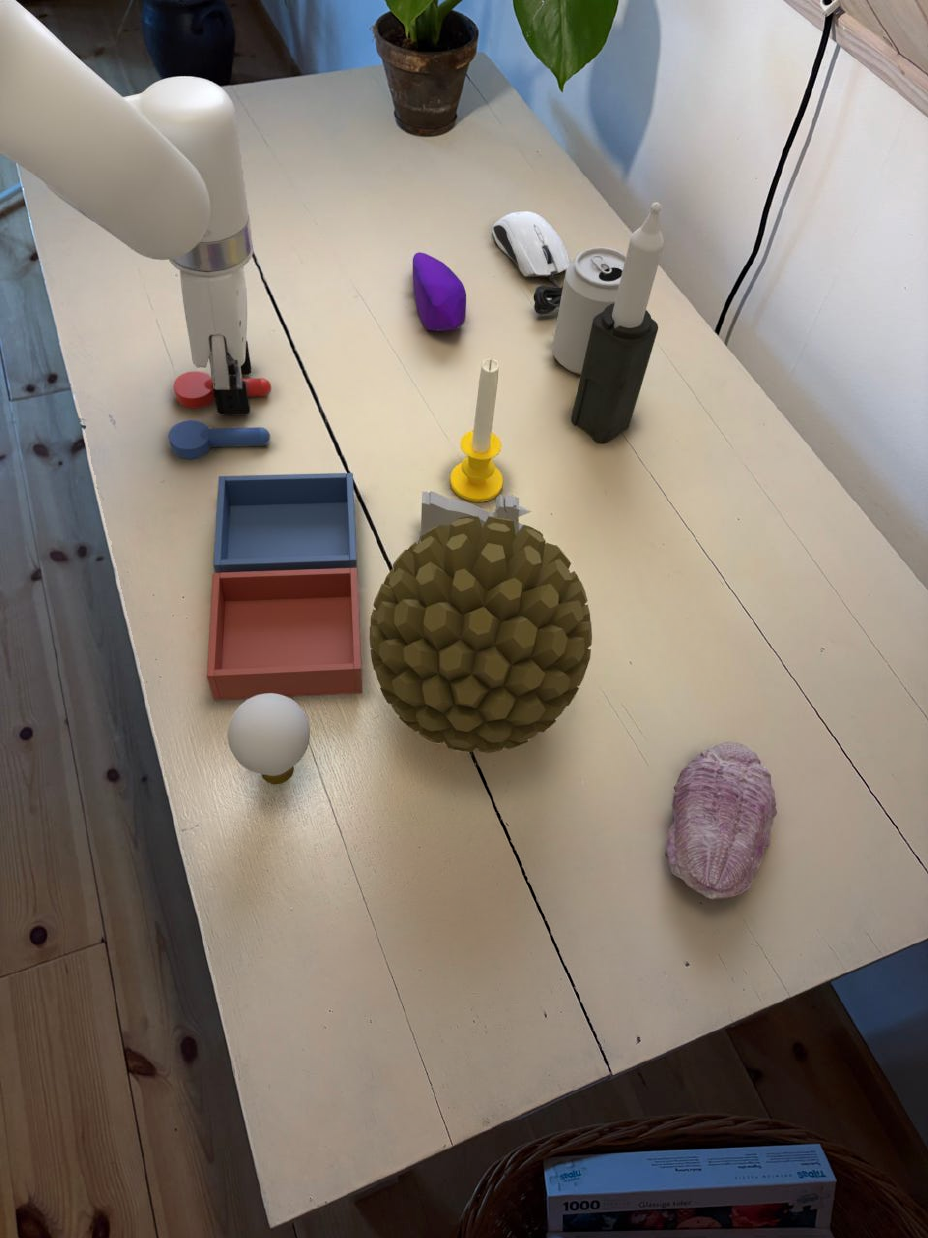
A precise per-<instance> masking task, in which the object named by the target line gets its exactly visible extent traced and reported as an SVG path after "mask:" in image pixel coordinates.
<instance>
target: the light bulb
mask: <svg viewBox="0 0 928 1238" xmlns="http://www.w3.org/2000/svg"><path fill="white" fill-rule="evenodd" d="M310 740H311V726H310V722H309V719H308V716H307V714H306V712H305V711H304V709H303V708H302V707H301V706H300V705H299V704H298V703H297V702H296V701H295V700H293V699H292V698H291V697H286V696H283V695H280V694H274V693H266V694H260V695H257V696H254V697H252V698H250V699H245V700H244V701H243V702H242V703H241V704H240V705H239V706H238V707H237V708H236V709H235V711H234V712H233V714H232V716H231V718H230V721H229V724H228V728H227V742H228V746H229V748H230V752H231V753H232V755H233V757H234V759H235V760H236V761H237V762H238V763H239V764H240V765H241V766H242V767H243V768H244V769H246V770H248V771H250V772H252V773H255V774H258V775H261V778H262V780H263V781H264V782H266V783H267V784H270V785H274V786H275V785H276V786H278V785H282V784H285V783H287V782H288V781H289V780H290V779H291V778H292V777H293V774H294V771H295V766H296V765H297V764H298V763H299V762H300V761H301V760H302V758H303V757H304V756H305V754H306V752H307V750H308V747H309V744H310Z"/></svg>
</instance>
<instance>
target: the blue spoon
mask: <svg viewBox="0 0 928 1238" xmlns="http://www.w3.org/2000/svg"><path fill="white" fill-rule="evenodd" d="M270 439H271V434H270V432H269V431H268V429H266V428H265V427H261V426H259V427H257V426H256V427H255V426H253V427H251V426H250V427H209V426H208V425H207V424H205V423H204V422H203V421H200V420H196V419H187V420H182V421H179V422H177V423H175V424H174V425H173V426H172V427H171V428H170V430H169V432H168V441H169V445H170V449H171V451H172V452H173V454H174V455H176V456H177V457H179V458H181V459H186V460H195V459H199V458H202V457H204V456H205V455H207V454H208V453H209V452H210V451H211V449H212V448H218V447H219V448H223V447H224V448H225V447H227V448H228V447H262V446H266V445H267V444H268V443H269V442H270Z"/></svg>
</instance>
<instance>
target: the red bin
mask: <svg viewBox="0 0 928 1238" xmlns="http://www.w3.org/2000/svg"><path fill="white" fill-rule="evenodd" d="M358 580H359V579H358V567H357V568H334V569H306V570H278V571H250V572H223V573H215V572H213V573H212V578H211V581H212V582H211V597H210V612H209V613H210V615H209V631H208V646H207V663H206V678H207V682H208V685H209V688H210V692H211V695H212V698H213V701H230V700H231V701H233V700H248V699H250V698H252V697H254V696H257V695H260V694H266V693H274V694H280V695H283V696H286V697H288V698H291V697H309V696H310V697H311V696H328V695H348V694H350V695H351V694H363V677H362V675H363V674H362V673H363V671H362V653H361V652H362V650H361V631H360V630H361V628H360V626H361V625H360V608H359V607H360V606H359V605H360V604H359V584H358V582H359V581H358Z"/></svg>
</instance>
